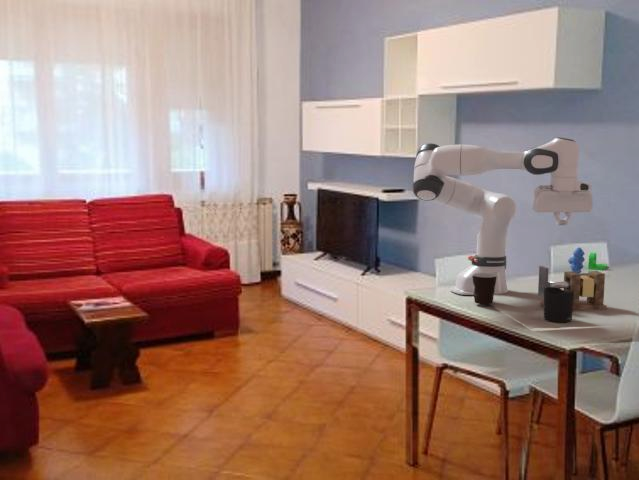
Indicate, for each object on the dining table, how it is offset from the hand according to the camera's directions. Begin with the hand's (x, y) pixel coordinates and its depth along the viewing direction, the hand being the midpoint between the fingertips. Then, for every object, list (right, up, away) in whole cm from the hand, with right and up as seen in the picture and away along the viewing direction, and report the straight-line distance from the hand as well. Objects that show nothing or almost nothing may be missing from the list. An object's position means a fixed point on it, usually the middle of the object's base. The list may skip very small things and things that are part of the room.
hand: (561, 225), depth 249 cm
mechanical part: (+45, -19, +82) cm, 95 cm away
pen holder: (-6, -32, -14) cm, 35 cm away
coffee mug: (-24, -28, +13) cm, 39 cm away
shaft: (+3, -25, +4) cm, 25 cm away
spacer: (+9, -21, +4) cm, 24 cm away
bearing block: (+6, -29, +5) cm, 30 cm away
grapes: (+29, -21, +68) cm, 76 cm away
